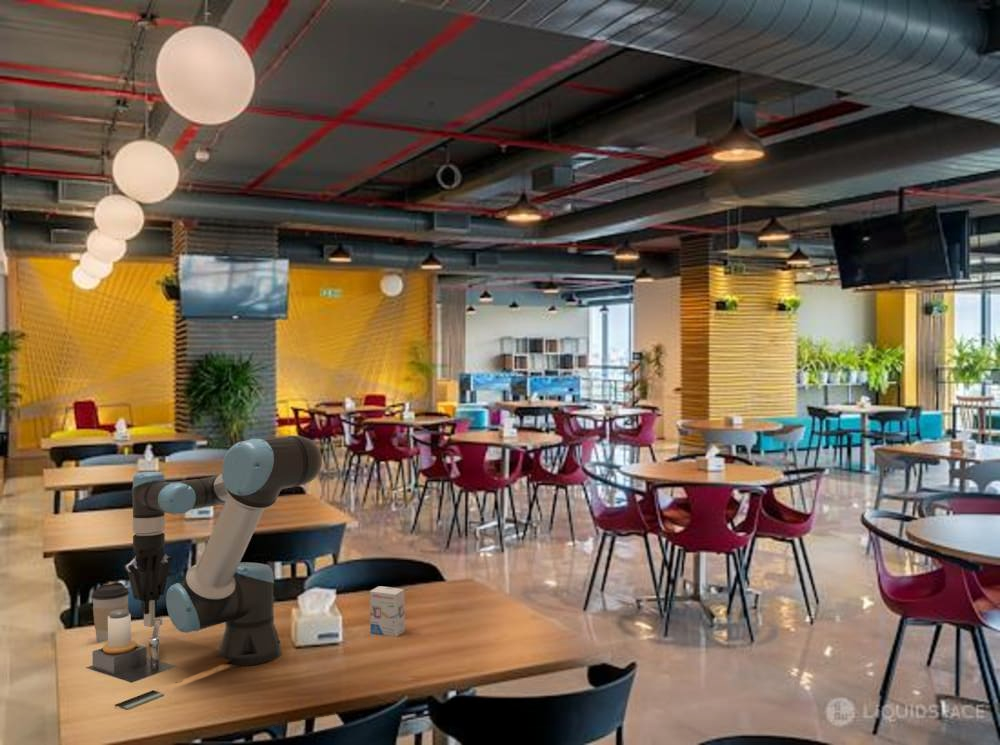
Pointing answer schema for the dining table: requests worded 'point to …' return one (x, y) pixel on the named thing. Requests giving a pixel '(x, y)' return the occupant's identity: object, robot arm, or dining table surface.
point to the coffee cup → (107, 606)
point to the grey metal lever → (155, 634)
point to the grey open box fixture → (129, 663)
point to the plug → (119, 633)
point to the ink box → (387, 611)
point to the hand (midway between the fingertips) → (149, 625)
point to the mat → (139, 700)
